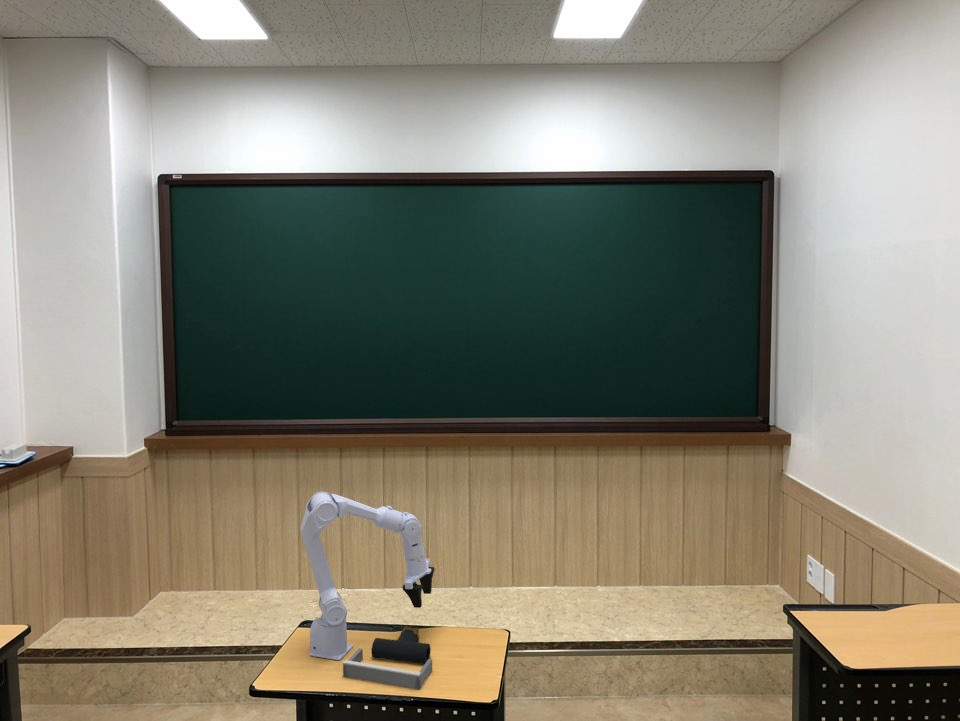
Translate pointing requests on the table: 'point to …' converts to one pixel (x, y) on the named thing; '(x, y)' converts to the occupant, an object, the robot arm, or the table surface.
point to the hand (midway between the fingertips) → (422, 600)
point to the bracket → (385, 672)
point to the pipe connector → (402, 647)
